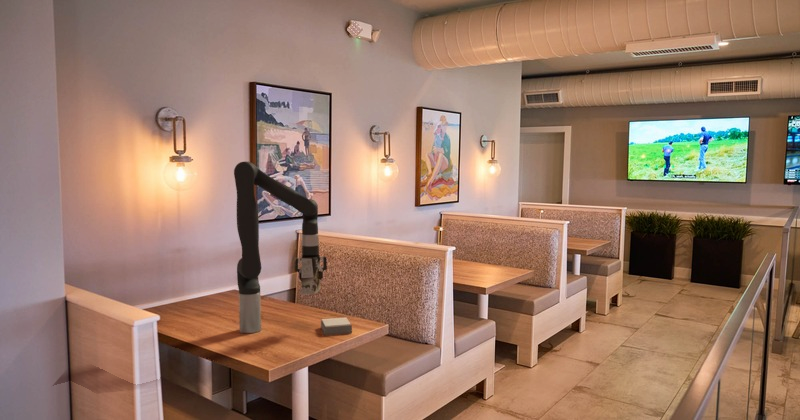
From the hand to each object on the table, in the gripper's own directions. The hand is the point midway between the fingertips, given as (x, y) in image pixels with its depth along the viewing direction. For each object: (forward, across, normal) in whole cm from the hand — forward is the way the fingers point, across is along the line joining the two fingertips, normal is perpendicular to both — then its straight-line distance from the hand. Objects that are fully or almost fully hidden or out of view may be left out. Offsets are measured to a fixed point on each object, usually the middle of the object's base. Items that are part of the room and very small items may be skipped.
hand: (311, 280), depth 252 cm
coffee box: (+6, 0, 0) cm, 6 cm away
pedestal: (+22, +10, -5) cm, 25 cm away
